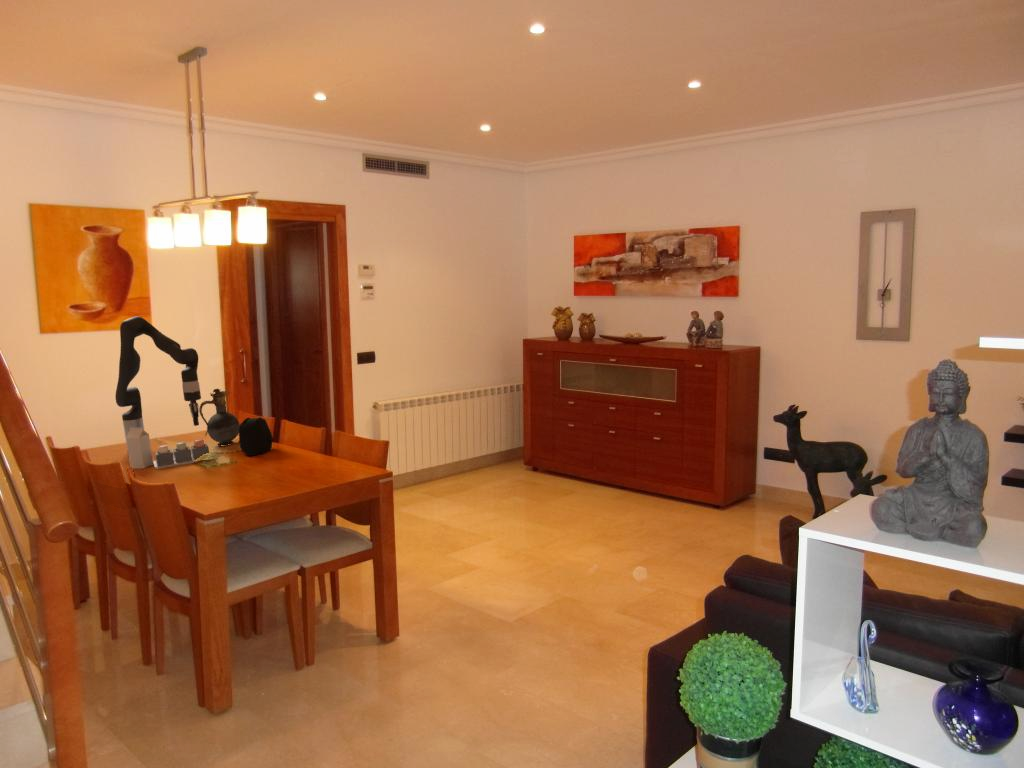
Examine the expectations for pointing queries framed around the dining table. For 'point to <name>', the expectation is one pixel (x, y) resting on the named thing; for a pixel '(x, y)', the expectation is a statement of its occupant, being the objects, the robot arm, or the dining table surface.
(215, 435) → the pitcher
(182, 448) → the pale green egg
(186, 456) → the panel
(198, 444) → the brown egg
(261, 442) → the black rounded dome
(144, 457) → the milk carton
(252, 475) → the dining table surface
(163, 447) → the cream white egg
